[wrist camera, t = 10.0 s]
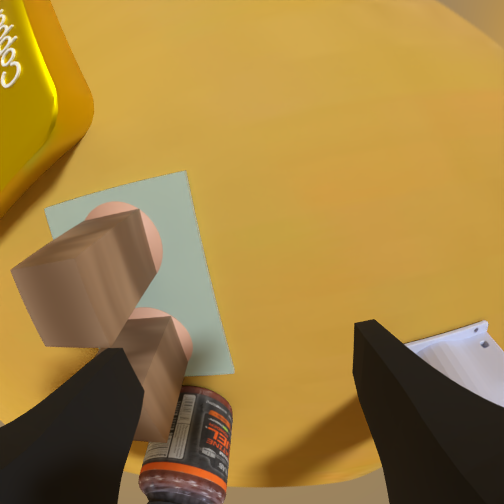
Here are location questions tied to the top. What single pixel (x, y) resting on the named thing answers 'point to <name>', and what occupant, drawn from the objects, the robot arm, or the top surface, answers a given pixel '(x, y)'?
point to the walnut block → (87, 281)
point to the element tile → (36, 96)
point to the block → (154, 372)
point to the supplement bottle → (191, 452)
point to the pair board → (164, 262)
